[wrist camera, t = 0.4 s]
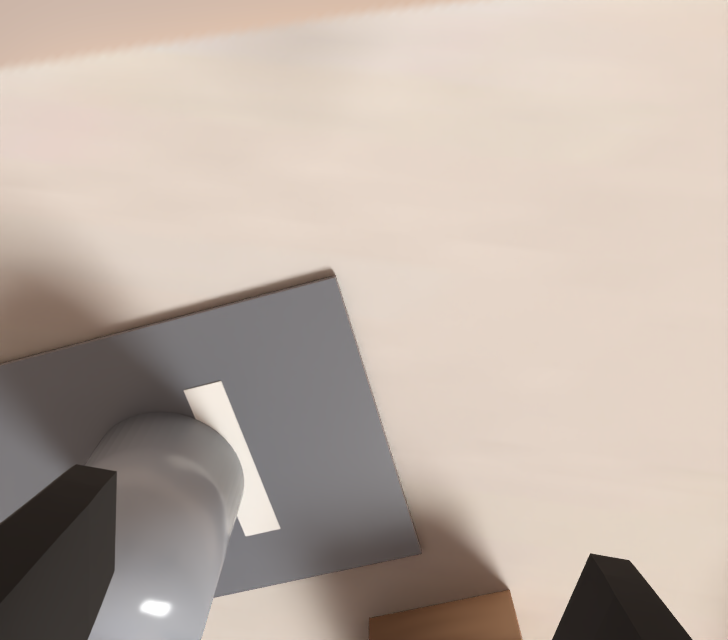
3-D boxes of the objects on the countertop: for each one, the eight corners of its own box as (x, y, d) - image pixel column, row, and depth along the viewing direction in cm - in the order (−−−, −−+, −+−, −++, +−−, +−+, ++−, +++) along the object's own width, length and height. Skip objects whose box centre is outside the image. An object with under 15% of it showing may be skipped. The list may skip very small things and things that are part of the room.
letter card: (40, 630, 25) (37, 635, 25) (-104, 391, 21) (-109, 394, 21) (421, 549, 23) (421, 554, 23) (335, 275, 20) (335, 278, 19)
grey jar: (128, 552, 23) (58, 697, 18) (67, 431, 21) (-29, 555, 16) (264, 521, 23) (232, 662, 18) (213, 395, 21) (160, 512, 16)
